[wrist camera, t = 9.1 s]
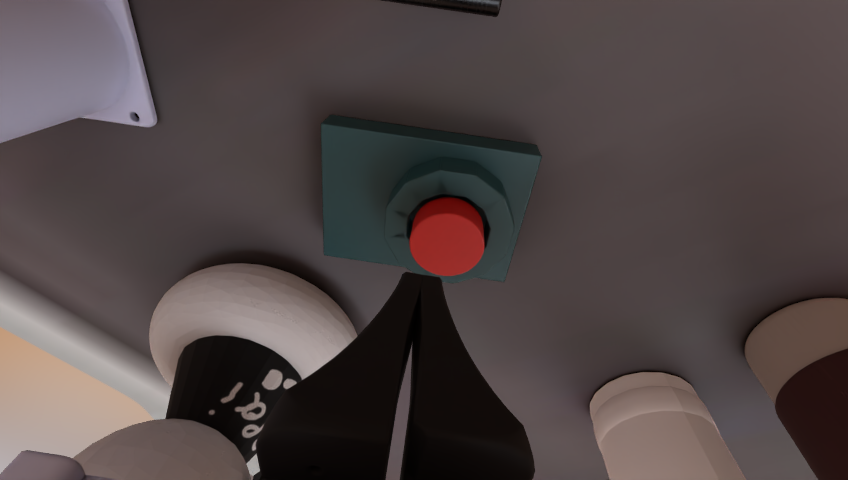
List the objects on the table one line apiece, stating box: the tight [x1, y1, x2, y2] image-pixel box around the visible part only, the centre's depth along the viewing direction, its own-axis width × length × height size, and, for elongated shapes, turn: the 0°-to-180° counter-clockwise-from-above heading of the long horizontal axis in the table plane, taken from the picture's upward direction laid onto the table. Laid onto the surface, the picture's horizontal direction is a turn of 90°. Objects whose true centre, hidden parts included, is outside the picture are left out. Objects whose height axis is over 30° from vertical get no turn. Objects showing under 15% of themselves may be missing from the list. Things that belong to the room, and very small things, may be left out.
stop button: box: [409, 197, 485, 276], centre depth 19 cm, size 4×4×2 cm
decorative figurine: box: [72, 263, 358, 480], centre depth 21 cm, size 15×15×20 cm
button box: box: [321, 115, 542, 283], centre depth 21 cm, size 11×8×4 cm
